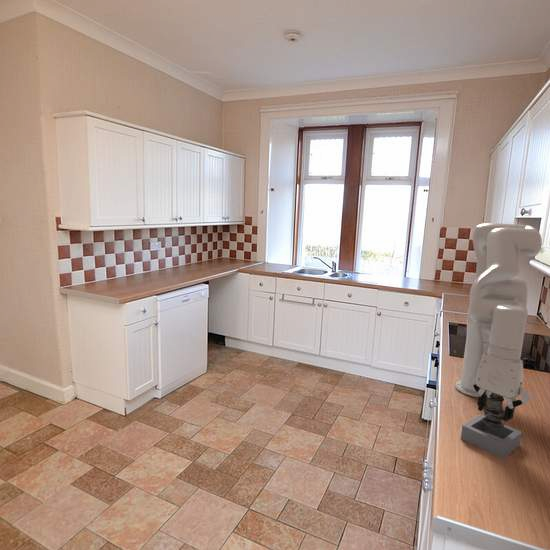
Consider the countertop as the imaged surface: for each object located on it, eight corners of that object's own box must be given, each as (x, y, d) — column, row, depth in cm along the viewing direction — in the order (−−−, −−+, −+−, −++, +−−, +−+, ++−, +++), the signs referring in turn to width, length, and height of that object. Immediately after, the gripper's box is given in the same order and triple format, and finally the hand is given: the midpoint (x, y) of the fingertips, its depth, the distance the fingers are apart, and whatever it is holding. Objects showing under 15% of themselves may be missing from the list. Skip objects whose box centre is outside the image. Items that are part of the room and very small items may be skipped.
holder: (478, 426, 113) (480, 414, 112) (519, 445, 104) (522, 432, 104) (460, 438, 106) (462, 425, 106) (503, 459, 98) (505, 445, 97)
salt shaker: (496, 417, 108) (503, 377, 106) (510, 428, 102) (517, 386, 100) (476, 416, 107) (482, 376, 105) (488, 428, 101) (495, 385, 100)
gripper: (464, 344, 106) (456, 404, 109) (535, 365, 92) (524, 433, 95) (477, 340, 110) (468, 398, 113) (546, 359, 97) (535, 425, 100)
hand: (494, 413), depth 104 cm, fingers closed on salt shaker, 5 cm apart
